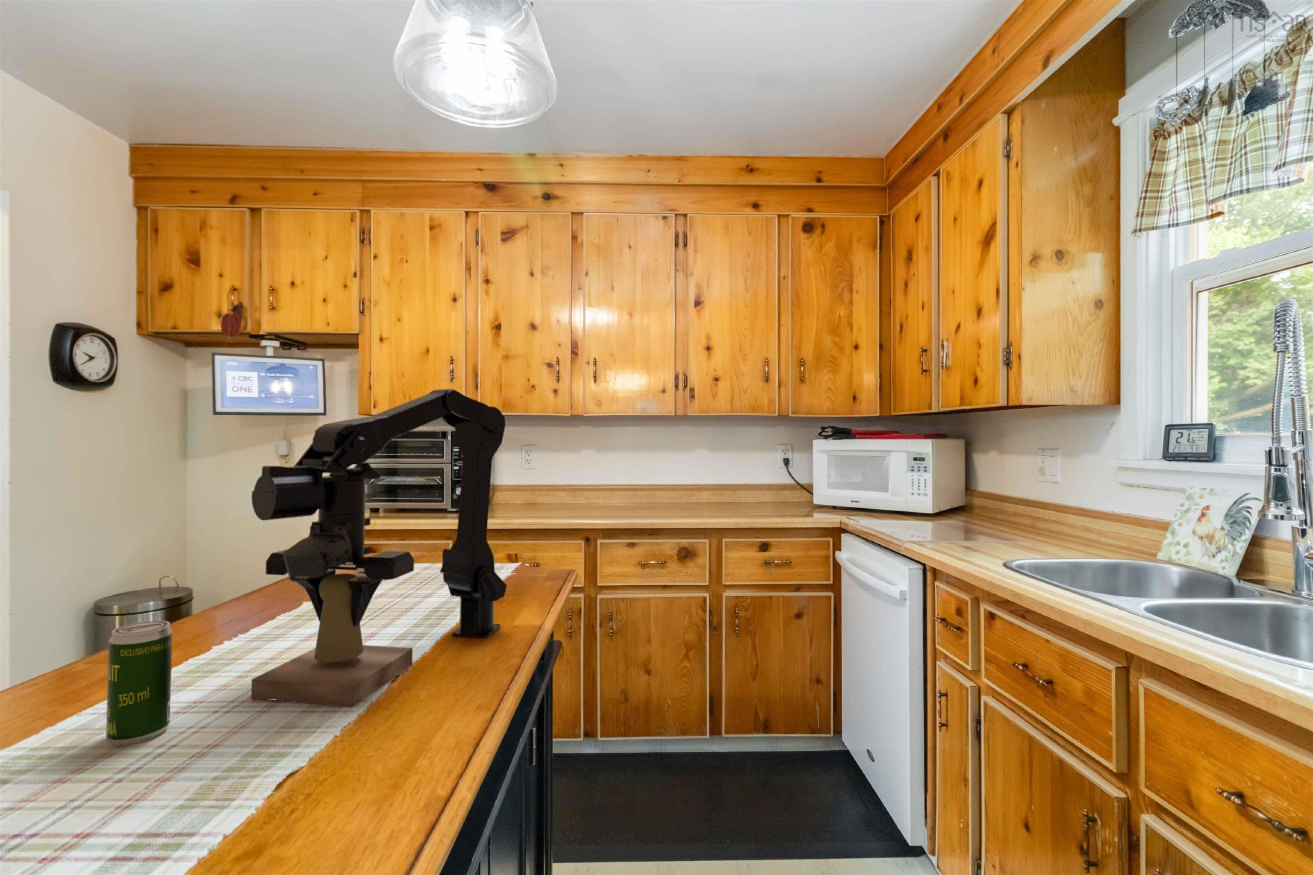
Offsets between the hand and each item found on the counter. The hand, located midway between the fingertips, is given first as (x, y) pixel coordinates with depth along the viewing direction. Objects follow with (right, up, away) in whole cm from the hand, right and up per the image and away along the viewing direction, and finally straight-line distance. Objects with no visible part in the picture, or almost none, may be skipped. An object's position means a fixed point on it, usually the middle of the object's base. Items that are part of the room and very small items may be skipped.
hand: (339, 624), depth 81 cm
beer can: (-14, -8, -16) cm, 22 cm away
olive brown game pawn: (0, -4, 0) cm, 4 cm away
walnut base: (0, -8, 0) cm, 8 cm away
